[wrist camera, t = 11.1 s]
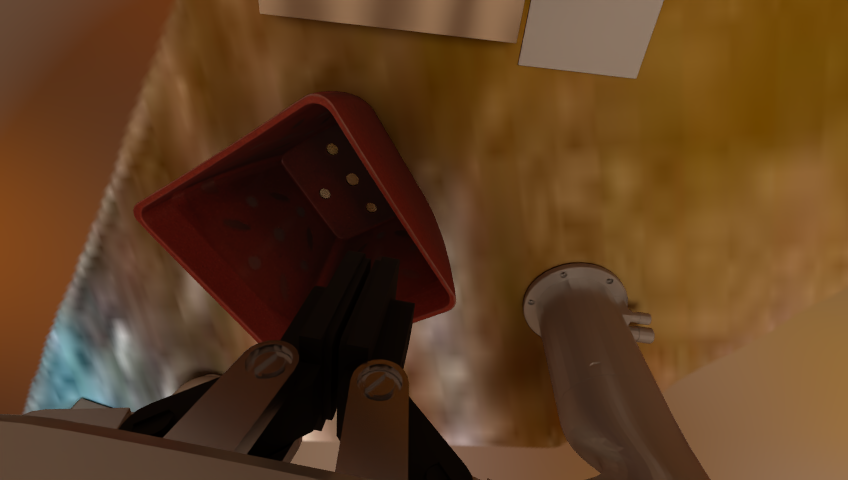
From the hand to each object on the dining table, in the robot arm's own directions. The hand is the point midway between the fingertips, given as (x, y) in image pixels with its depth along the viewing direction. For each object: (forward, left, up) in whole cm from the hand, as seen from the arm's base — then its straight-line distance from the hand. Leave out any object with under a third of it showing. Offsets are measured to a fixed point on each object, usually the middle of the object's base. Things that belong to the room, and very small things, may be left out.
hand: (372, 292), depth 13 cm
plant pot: (+9, +10, -32) cm, 34 cm away
